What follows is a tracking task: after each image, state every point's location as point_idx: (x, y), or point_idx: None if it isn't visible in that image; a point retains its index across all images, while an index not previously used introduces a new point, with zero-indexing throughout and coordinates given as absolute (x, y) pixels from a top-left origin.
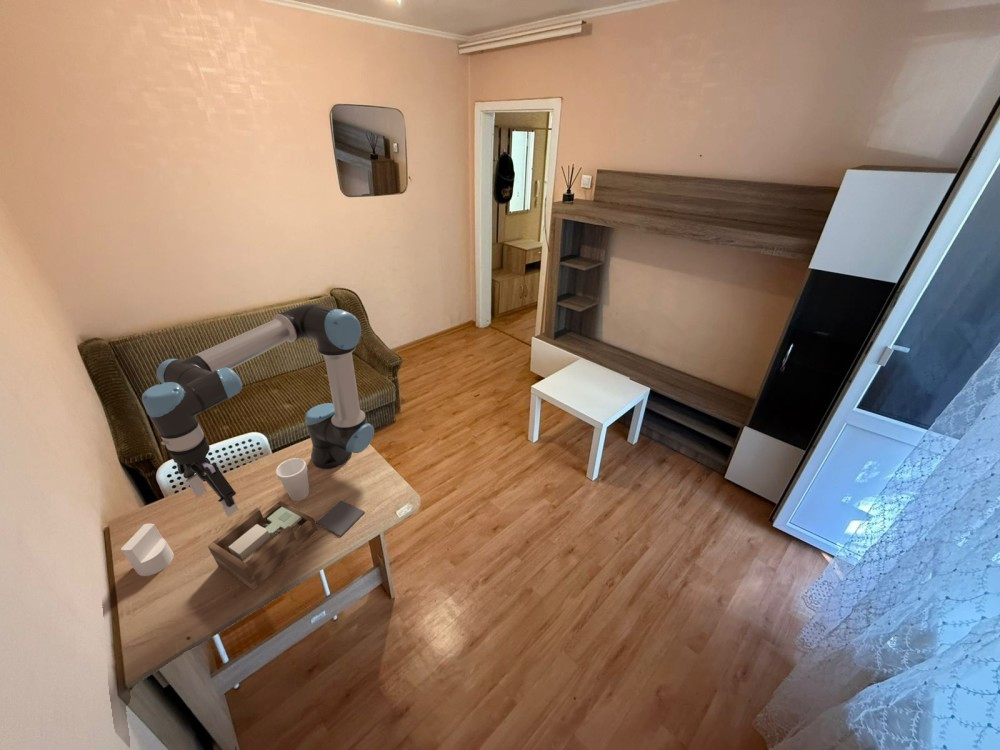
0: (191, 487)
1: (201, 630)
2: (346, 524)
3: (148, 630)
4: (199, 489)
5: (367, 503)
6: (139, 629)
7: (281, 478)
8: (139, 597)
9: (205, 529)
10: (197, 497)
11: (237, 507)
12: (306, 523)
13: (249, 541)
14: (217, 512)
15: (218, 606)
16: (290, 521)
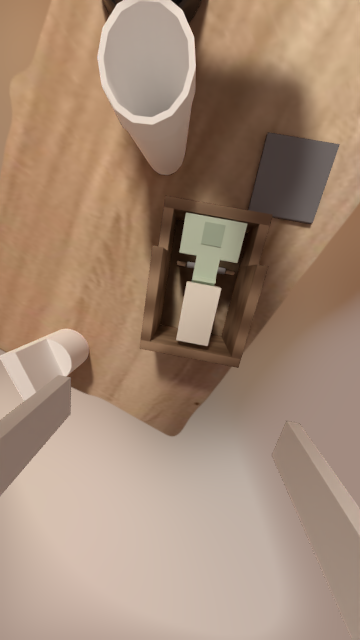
0: (4, 484)
1: (203, 395)
2: (313, 194)
3: (148, 407)
4: (44, 424)
5: (332, 117)
6: (138, 408)
7: (148, 130)
8: (101, 384)
9: (77, 286)
10: (69, 413)
11: (308, 437)
12: (262, 232)
13: (205, 320)
14: (61, 252)
15: (199, 371)
16: (232, 242)
